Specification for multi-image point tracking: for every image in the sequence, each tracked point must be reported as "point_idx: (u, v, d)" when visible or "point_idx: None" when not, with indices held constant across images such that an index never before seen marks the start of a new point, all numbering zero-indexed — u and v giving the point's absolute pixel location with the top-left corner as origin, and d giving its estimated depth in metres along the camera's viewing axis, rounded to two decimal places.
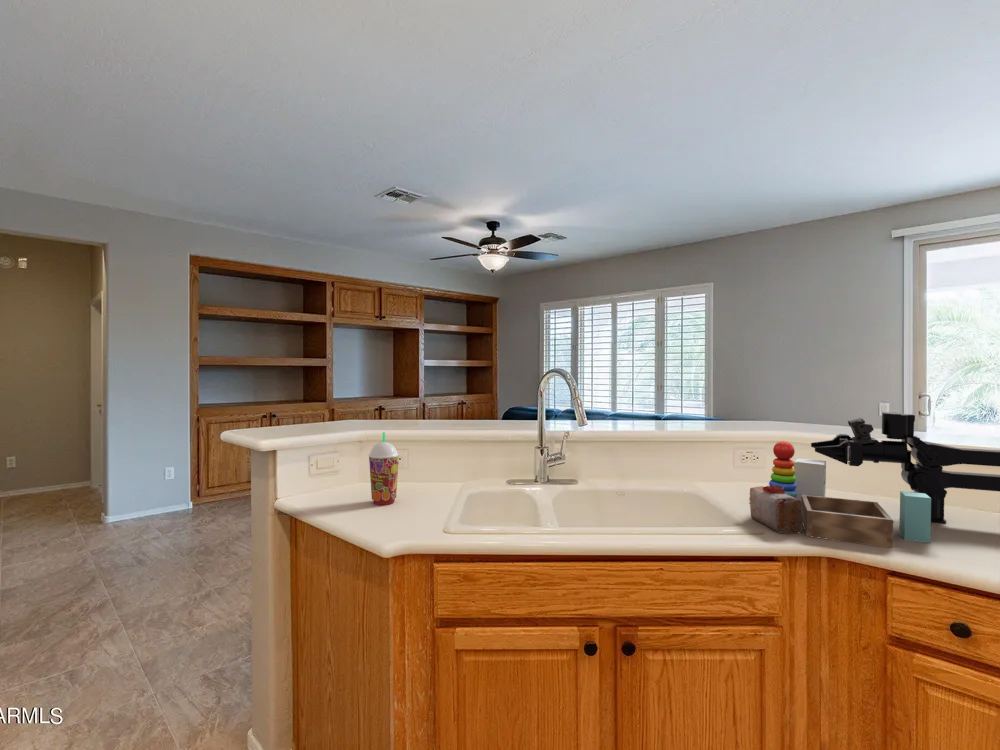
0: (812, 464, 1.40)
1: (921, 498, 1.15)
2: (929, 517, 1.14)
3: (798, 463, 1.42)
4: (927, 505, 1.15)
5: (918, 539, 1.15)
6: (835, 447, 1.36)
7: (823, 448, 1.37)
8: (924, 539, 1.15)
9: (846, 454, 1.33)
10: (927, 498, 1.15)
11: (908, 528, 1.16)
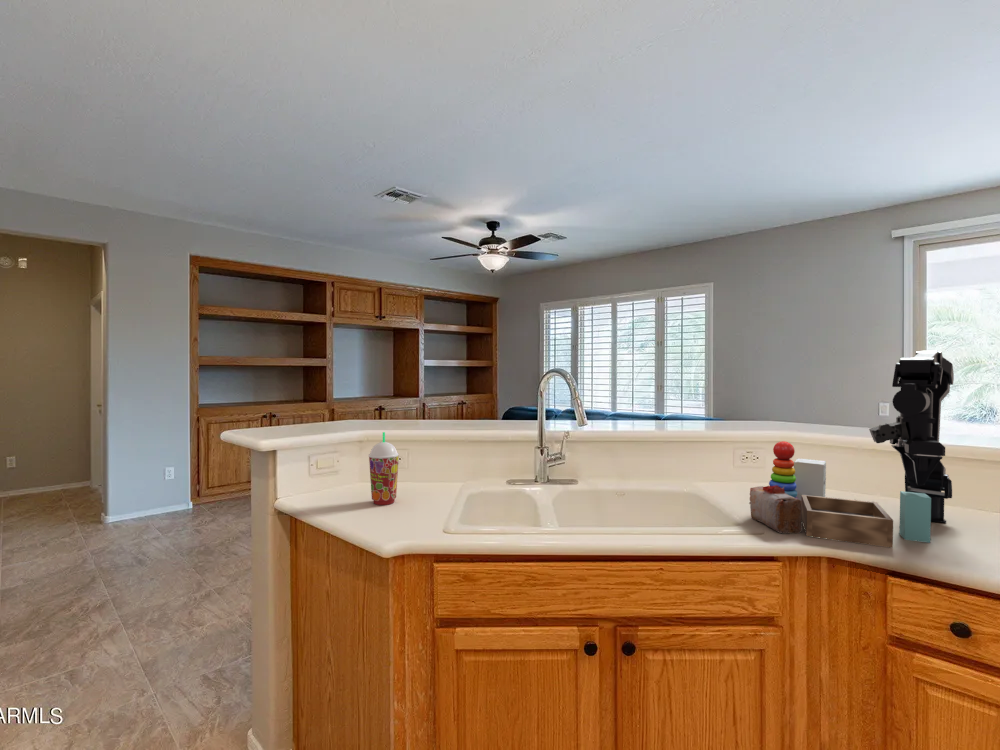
0: (812, 464, 1.40)
1: (921, 498, 1.15)
2: (929, 517, 1.14)
3: (798, 463, 1.42)
4: (927, 505, 1.15)
5: (918, 539, 1.15)
6: (916, 465, 1.12)
7: (919, 476, 1.13)
8: (924, 539, 1.15)
9: (927, 457, 1.10)
10: (927, 498, 1.15)
11: (908, 528, 1.16)
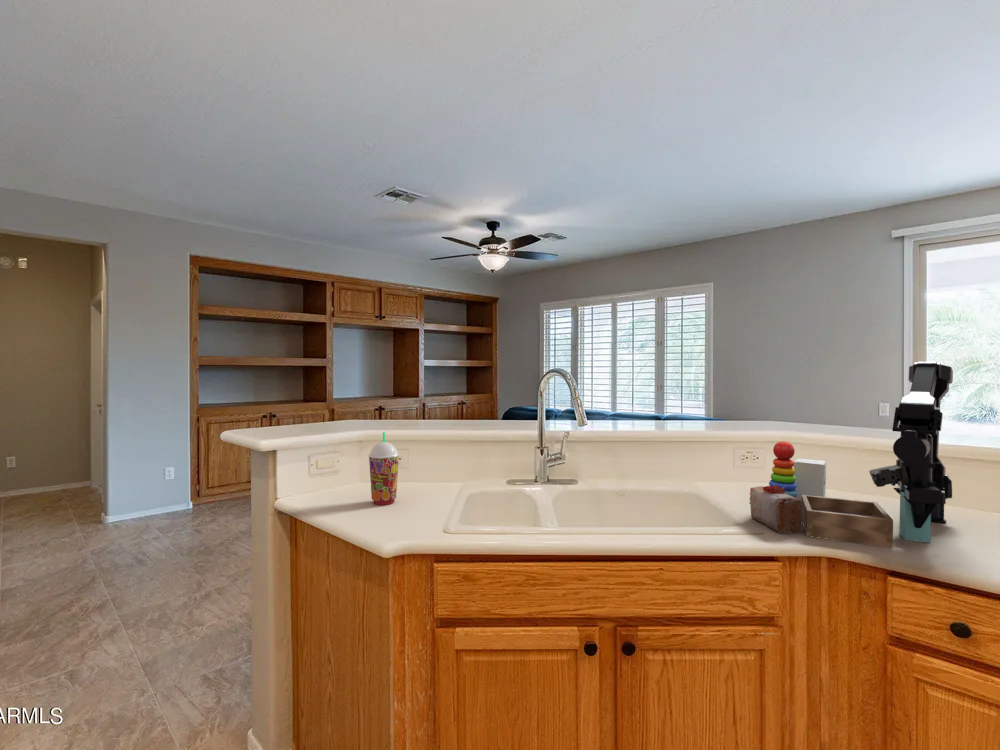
0: (812, 464, 1.40)
1: None
2: (929, 517, 1.14)
3: (798, 463, 1.42)
4: None
5: (918, 539, 1.15)
6: (914, 508, 1.14)
7: (916, 520, 1.15)
8: (924, 539, 1.15)
9: (924, 501, 1.12)
10: None
11: (908, 528, 1.16)
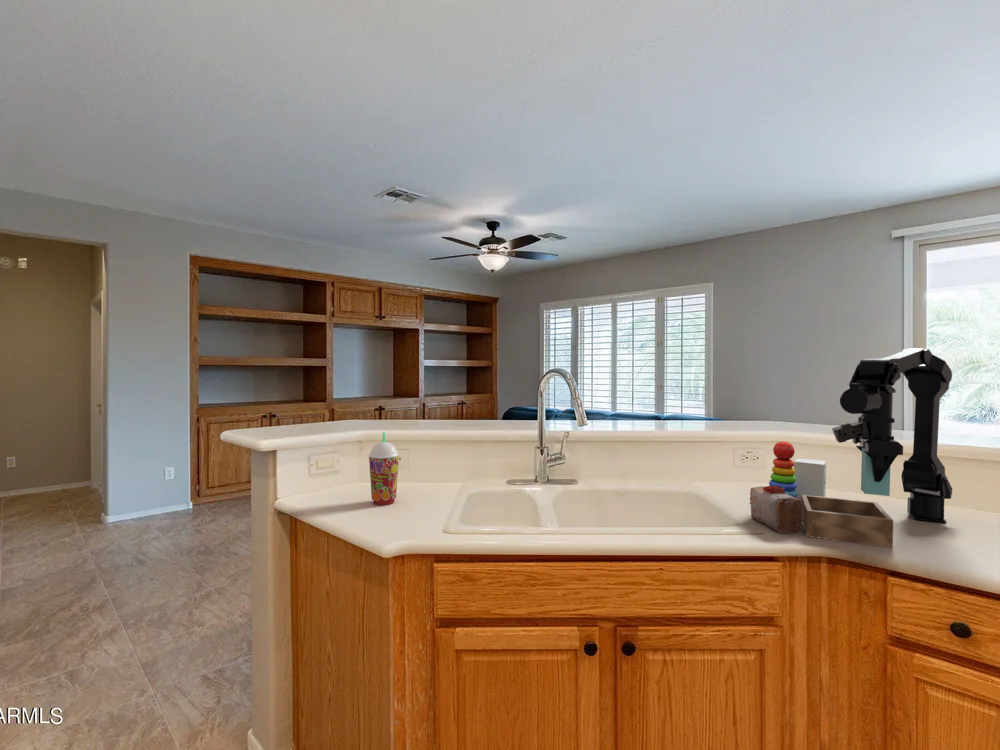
0: (812, 464, 1.40)
1: None
2: (889, 471, 1.16)
3: (798, 463, 1.42)
4: None
5: (878, 493, 1.17)
6: (873, 462, 1.16)
7: (876, 473, 1.17)
8: (884, 493, 1.17)
9: (883, 454, 1.14)
10: None
11: (869, 482, 1.18)
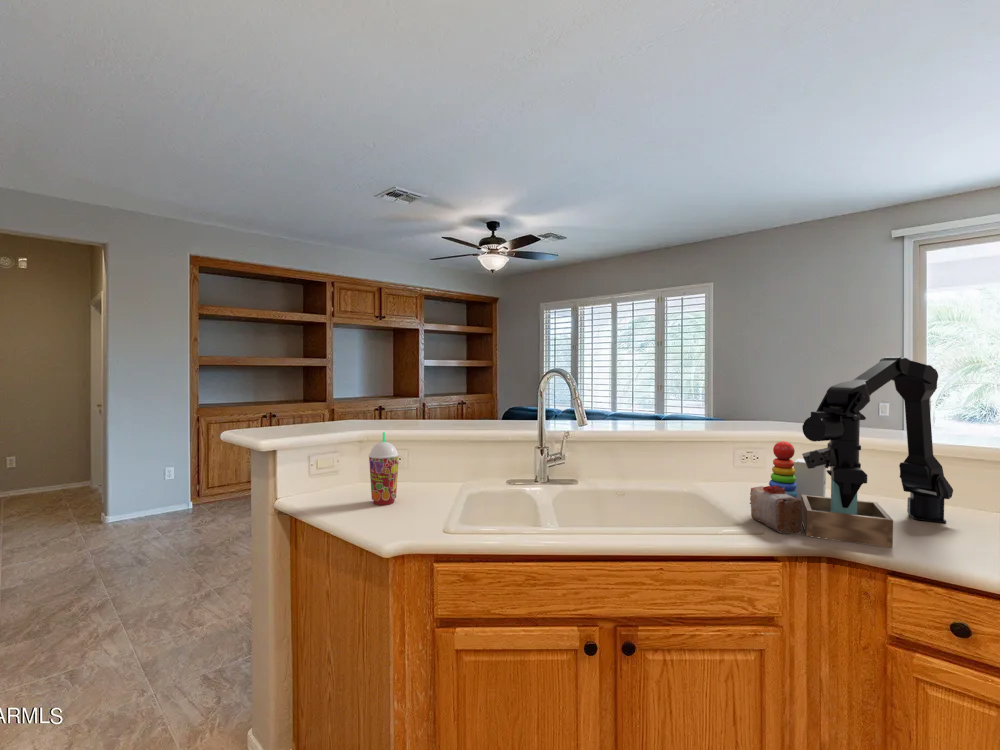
0: None
1: None
2: (856, 497, 1.19)
3: (798, 463, 1.42)
4: None
5: None
6: (841, 489, 1.19)
7: (843, 500, 1.19)
8: None
9: (849, 482, 1.16)
10: None
11: (837, 508, 1.20)
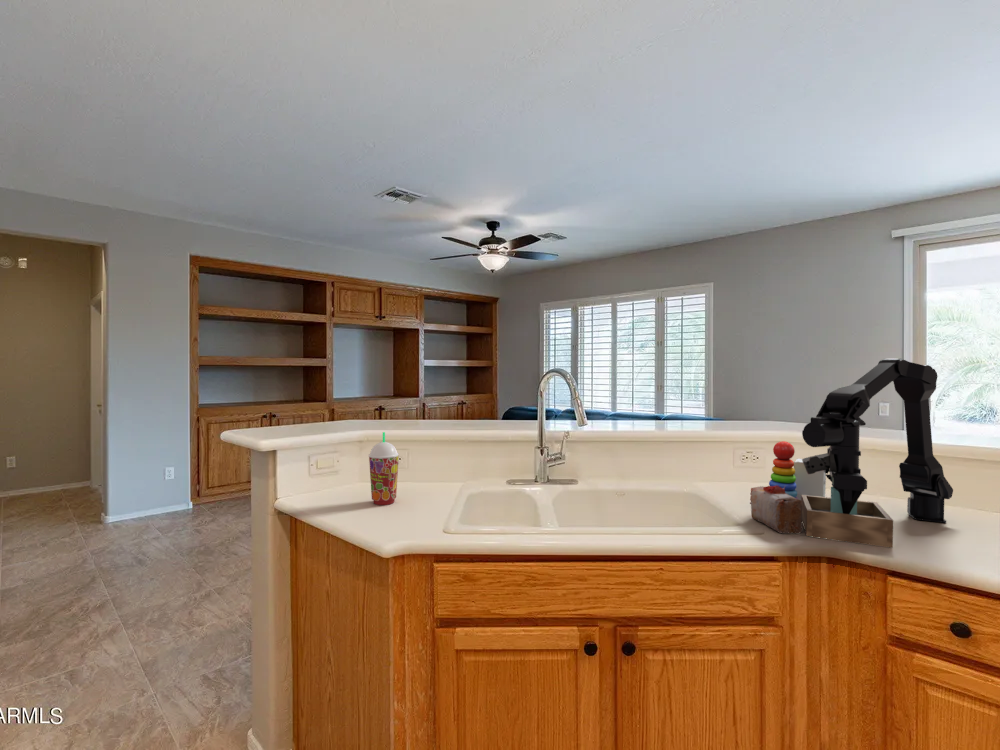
0: None
1: None
2: (855, 511, 1.19)
3: (798, 463, 1.42)
4: None
5: None
6: (841, 496, 1.17)
7: (844, 507, 1.18)
8: None
9: (850, 489, 1.15)
10: None
11: None
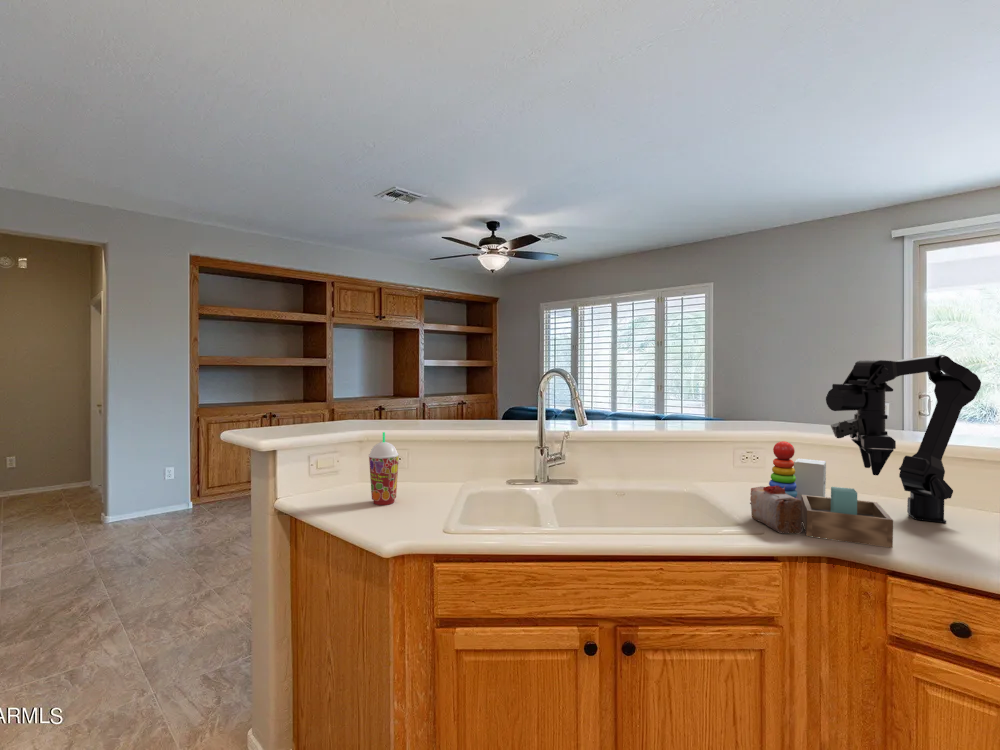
0: (812, 464, 1.40)
1: (848, 493, 1.19)
2: (855, 511, 1.19)
3: (798, 463, 1.42)
4: (854, 500, 1.19)
5: None
6: (871, 457, 1.25)
7: (874, 467, 1.25)
8: None
9: (880, 450, 1.23)
10: (854, 493, 1.19)
11: None
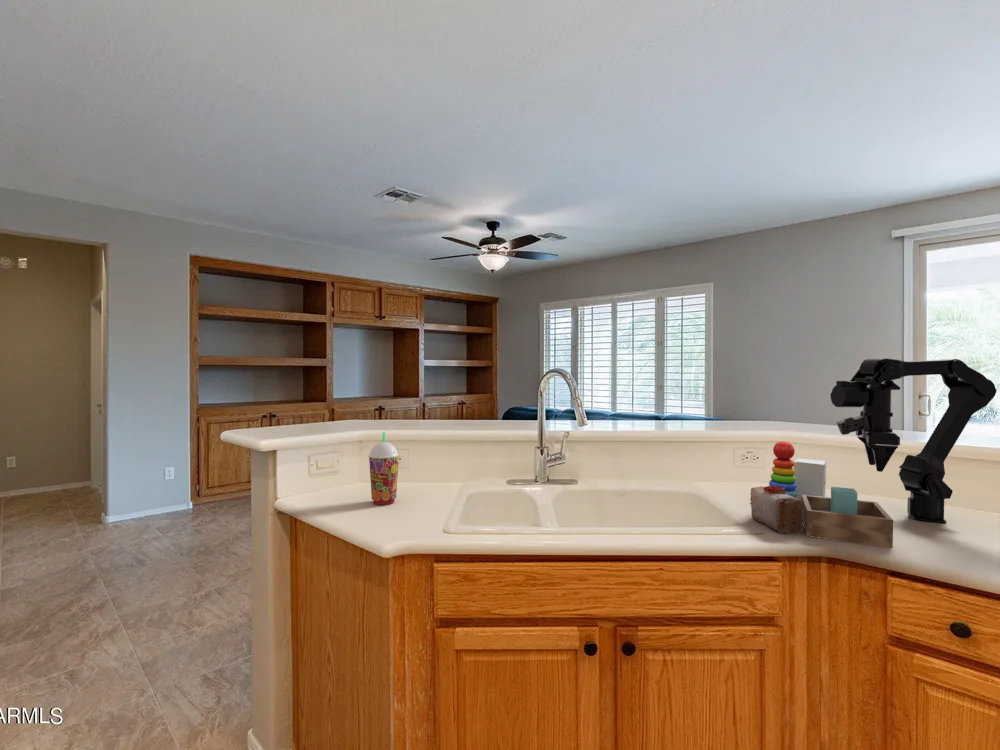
0: (812, 464, 1.40)
1: (848, 493, 1.19)
2: (855, 511, 1.19)
3: (798, 463, 1.42)
4: (854, 500, 1.19)
5: None
6: (876, 454, 1.27)
7: (878, 464, 1.27)
8: None
9: (885, 446, 1.25)
10: (854, 493, 1.19)
11: None
